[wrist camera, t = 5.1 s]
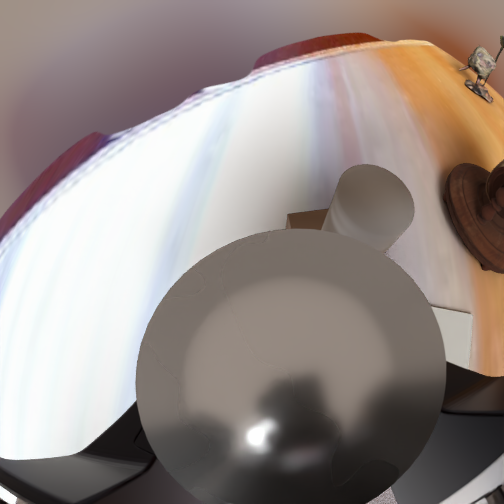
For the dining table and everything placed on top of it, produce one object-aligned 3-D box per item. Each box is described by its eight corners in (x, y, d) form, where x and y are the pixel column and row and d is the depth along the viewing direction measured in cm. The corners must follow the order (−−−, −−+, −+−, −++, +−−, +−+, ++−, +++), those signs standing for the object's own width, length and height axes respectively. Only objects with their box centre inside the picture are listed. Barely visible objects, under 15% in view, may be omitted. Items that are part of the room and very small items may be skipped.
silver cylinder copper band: (313, 396, 13) (455, 467, 2) (240, 408, 13) (165, 530, 2) (301, 327, 15) (405, 210, 4) (230, 339, 15) (126, 250, 4)
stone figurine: (463, 75, 42) (485, 19, 23) (495, 103, 37) (523, 48, 19) (452, 76, 40) (475, 14, 22) (487, 106, 36) (518, 45, 18)
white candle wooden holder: (367, 316, 22) (454, 265, 10) (300, 331, 21) (343, 292, 10) (345, 233, 25) (394, 137, 13) (283, 242, 25) (297, 139, 13)
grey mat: (452, 430, 16) (454, 430, 16) (347, 430, 18) (348, 431, 17) (470, 315, 21) (472, 314, 20) (375, 296, 22) (376, 295, 22)
